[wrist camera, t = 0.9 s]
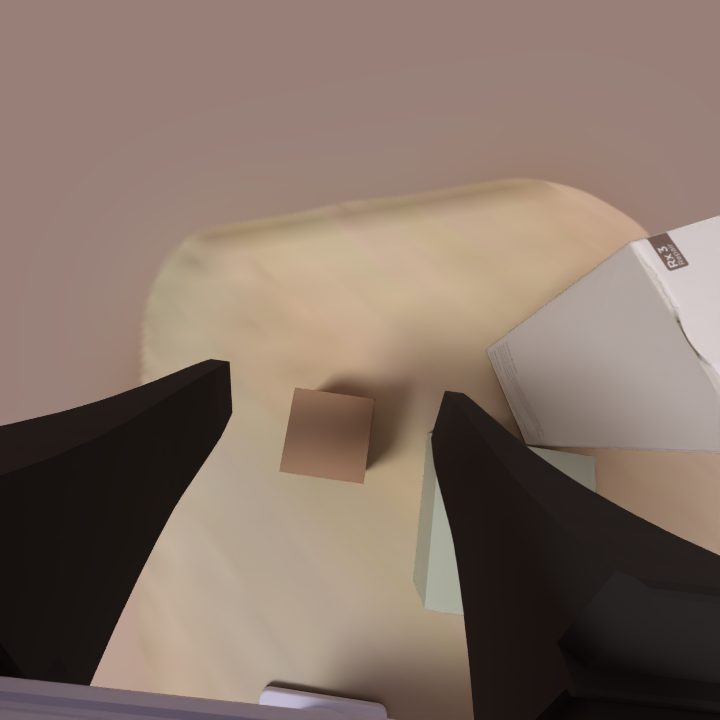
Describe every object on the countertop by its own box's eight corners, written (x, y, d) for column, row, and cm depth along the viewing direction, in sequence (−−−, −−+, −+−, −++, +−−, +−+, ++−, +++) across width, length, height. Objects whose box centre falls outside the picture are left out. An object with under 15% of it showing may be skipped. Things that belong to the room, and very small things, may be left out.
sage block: (554, 600, 22) (597, 637, 18) (412, 577, 22) (424, 609, 18) (556, 452, 24) (595, 456, 20) (426, 432, 24) (440, 433, 21)
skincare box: (591, 423, 24) (936, 412, 10) (519, 447, 24) (772, 472, 9) (546, 324, 26) (784, 191, 12) (478, 345, 26) (638, 232, 11)
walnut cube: (361, 472, 23) (363, 483, 19) (295, 463, 24) (279, 471, 19) (370, 405, 25) (374, 398, 20) (306, 396, 25) (294, 387, 20)
